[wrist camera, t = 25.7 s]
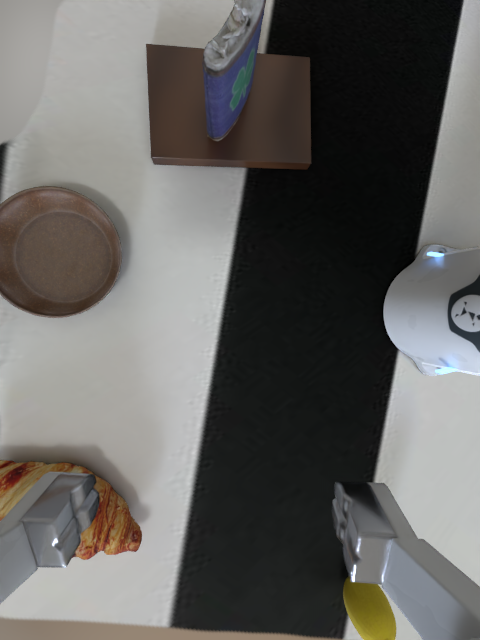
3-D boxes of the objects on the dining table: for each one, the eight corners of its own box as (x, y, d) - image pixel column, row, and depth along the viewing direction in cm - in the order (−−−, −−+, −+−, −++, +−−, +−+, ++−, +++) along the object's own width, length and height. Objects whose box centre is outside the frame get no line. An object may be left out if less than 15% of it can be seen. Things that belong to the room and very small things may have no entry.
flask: (238, 68, 30) (252, -61, 20) (258, 83, 31) (283, -36, 20) (201, 133, 30) (195, 39, 20) (222, 147, 31) (227, 62, 20)
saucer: (64, 170, 30) (50, 157, 27) (153, 260, 32) (148, 255, 29) (-28, 254, 30) (-52, 248, 27) (68, 341, 31) (54, 344, 28)
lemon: (361, 595, 37) (402, 672, 29) (328, 588, 37) (360, 666, 29) (373, 560, 37) (416, 629, 29) (340, 553, 37) (375, 621, 29)
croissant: (3, 462, 34) (-69, 532, 27) (6, 421, 30) (-81, 492, 22) (144, 523, 36) (110, 603, 29) (166, 493, 32) (133, 579, 24)
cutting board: (305, 68, 33) (309, 57, 31) (306, 169, 33) (311, 163, 32) (149, 56, 31) (146, 43, 29) (153, 164, 31) (151, 157, 30)
